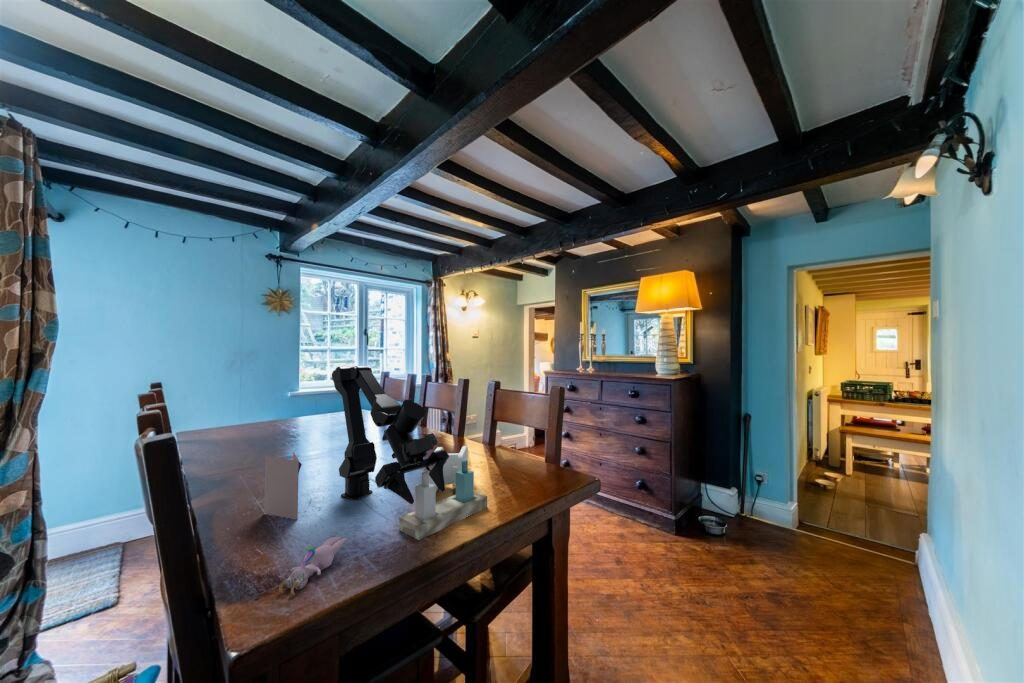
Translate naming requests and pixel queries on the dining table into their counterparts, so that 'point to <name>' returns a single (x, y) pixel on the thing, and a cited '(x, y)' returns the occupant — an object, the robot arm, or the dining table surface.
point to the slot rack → (441, 516)
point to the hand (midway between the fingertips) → (429, 497)
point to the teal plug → (464, 484)
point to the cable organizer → (452, 466)
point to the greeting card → (281, 486)
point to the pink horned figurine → (313, 563)
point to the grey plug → (425, 499)
